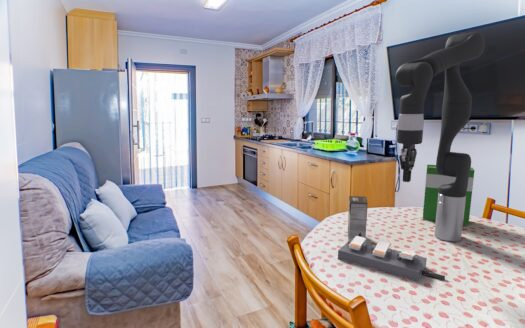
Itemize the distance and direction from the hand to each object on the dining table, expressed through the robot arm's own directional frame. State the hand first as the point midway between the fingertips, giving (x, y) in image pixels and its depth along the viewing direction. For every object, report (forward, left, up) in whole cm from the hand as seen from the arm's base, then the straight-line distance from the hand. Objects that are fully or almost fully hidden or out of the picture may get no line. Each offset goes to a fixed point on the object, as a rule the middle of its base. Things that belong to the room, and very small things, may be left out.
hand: (406, 181), depth 109 cm
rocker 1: (+9, -12, -21) cm, 26 cm away
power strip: (+9, -1, -26) cm, 28 cm away
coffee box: (-5, -18, -26) cm, 32 cm away
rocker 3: (+9, +4, -21) cm, 23 cm away
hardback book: (-50, +6, -26) cm, 57 cm away
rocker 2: (+9, -4, -21) cm, 23 cm away
